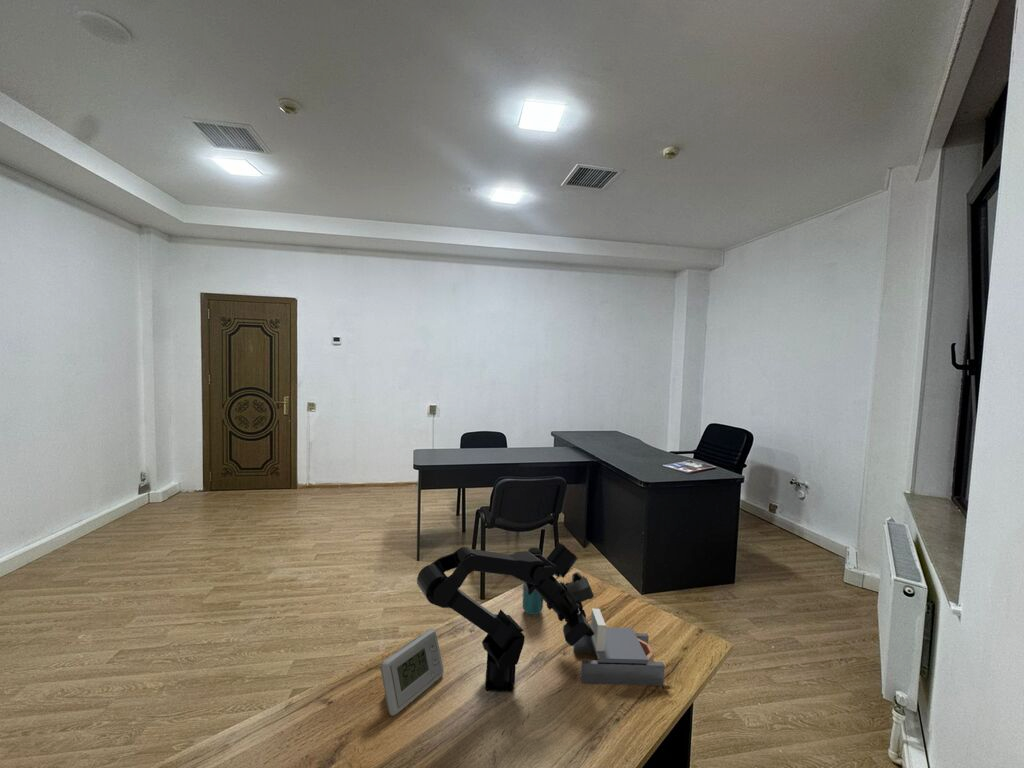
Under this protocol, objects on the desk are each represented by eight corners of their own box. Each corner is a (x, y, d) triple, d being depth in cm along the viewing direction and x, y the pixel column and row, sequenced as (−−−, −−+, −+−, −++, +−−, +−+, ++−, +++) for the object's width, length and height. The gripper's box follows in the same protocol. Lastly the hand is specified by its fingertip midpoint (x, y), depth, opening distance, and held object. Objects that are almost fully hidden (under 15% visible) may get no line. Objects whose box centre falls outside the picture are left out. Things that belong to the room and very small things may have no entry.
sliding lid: (598, 662, 99) (600, 631, 98) (588, 630, 111) (589, 602, 110) (647, 663, 99) (649, 633, 99) (632, 631, 111) (633, 604, 111)
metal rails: (581, 683, 99) (582, 663, 98) (573, 649, 111) (574, 631, 110) (663, 685, 99) (664, 665, 99) (646, 651, 111) (647, 633, 111)
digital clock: (388, 722, 86) (390, 673, 85) (369, 696, 92) (371, 650, 92) (452, 683, 97) (454, 640, 97) (431, 662, 103) (432, 622, 103)
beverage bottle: (543, 619, 123) (546, 554, 122) (521, 618, 123) (524, 553, 122) (542, 607, 130) (545, 545, 129) (521, 606, 130) (524, 544, 129)
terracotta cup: (624, 678, 101) (625, 658, 101) (615, 655, 109) (616, 637, 109) (656, 679, 101) (657, 659, 101) (645, 656, 109) (646, 638, 109)
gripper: (582, 590, 94) (627, 637, 95) (568, 553, 113) (606, 593, 114) (547, 622, 94) (591, 669, 95) (539, 580, 113) (576, 620, 114)
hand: (592, 634), depth 105 cm, fingers closed, pressing on sliding lid
